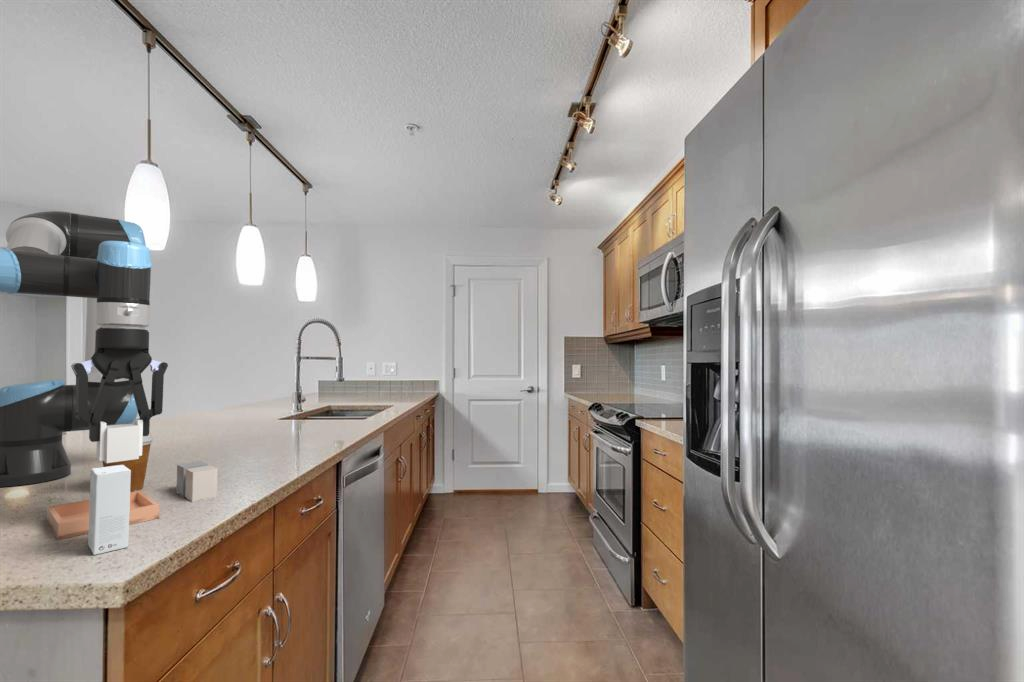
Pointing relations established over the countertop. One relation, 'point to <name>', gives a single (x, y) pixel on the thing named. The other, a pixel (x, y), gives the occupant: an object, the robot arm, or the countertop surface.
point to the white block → (122, 442)
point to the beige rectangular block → (201, 482)
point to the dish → (76, 515)
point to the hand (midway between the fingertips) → (119, 456)
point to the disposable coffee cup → (136, 465)
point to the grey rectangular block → (182, 475)
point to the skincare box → (109, 508)
